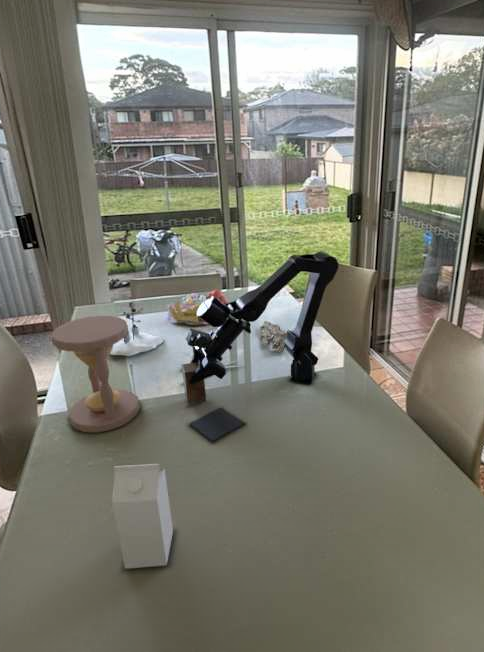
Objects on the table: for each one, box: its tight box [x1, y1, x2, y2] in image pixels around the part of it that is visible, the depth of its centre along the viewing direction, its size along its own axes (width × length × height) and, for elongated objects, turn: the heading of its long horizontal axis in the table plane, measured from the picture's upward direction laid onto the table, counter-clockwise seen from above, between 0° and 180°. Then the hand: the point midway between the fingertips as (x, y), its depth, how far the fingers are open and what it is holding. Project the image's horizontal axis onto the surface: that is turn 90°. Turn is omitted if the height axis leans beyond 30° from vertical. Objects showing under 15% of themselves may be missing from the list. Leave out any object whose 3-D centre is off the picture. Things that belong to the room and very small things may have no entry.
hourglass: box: [51, 315, 141, 434], centre depth 114 cm, size 18×18×25 cm
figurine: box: [110, 301, 164, 357], centre depth 154 cm, size 20×18×16 cm
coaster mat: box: [189, 407, 245, 443], centre depth 113 cm, size 10×10×1 cm
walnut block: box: [181, 362, 207, 405], centre depth 122 cm, size 5×5×10 cm
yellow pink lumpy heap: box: [167, 289, 228, 326], centre depth 182 cm, size 25×24×9 cm
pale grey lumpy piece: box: [259, 320, 287, 354], centre depth 161 cm, size 25×10×5 cm
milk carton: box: [111, 463, 174, 569], centre depth 76 cm, size 7×7×19 cm
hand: (188, 378), depth 121 cm, fingers closed on walnut block, 5 cm apart
